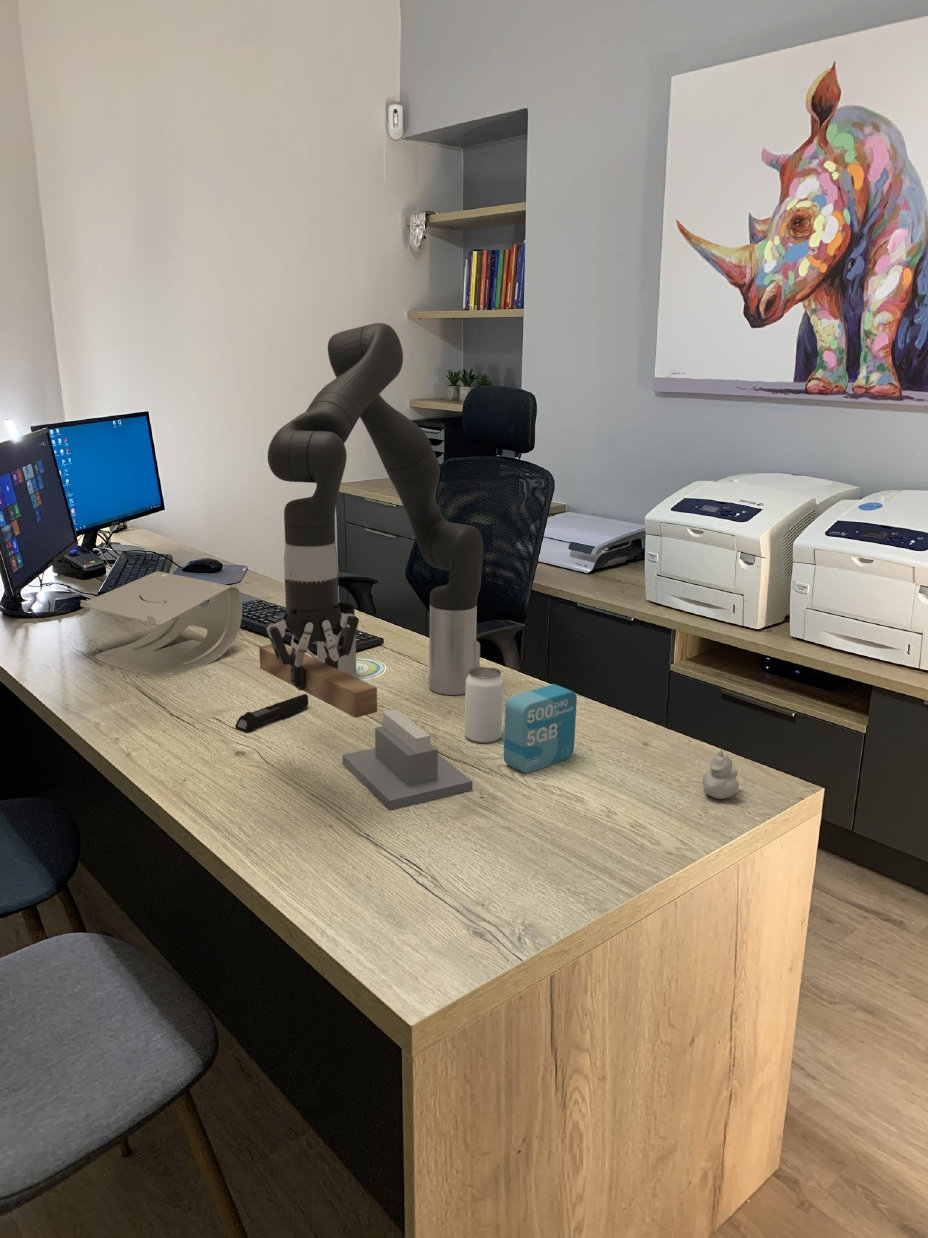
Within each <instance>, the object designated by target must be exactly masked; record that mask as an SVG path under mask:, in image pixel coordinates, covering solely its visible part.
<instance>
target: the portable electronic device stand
mask: <svg viewBox="0 0 928 1238" xmlns="http://www.w3.org/2000/svg"><path fill="white" fill-rule="evenodd" d="M205 602H208V605H207V606H203V605H202V604H203V603H205ZM80 607H82V608H86V609H90V610H94V611H98V612H102V613H106V614H110V615H114V616H117V617H118V616H119V617H124V618H127V619H132V620H136V621H139V622H143V623H148V624H151V625H157V626H156V628H154V629H153V630H152V631H151V632H149V633H148V634H146V635H145V636H143V637H141V638H140V639H138V640H136V641H134V642H132V643H128V644H126V645H121V646H118V647H115V648H111V649H109V650H105V651H102V652H100V653H97V654H96V655H95V659H96V660H97V661H98V662H101V663H104V664H107V665H109V666H112V667H115V668H118V669H121V670H125V671H129V672H133V673H138V674H141V675H147V676H153V677H159V678H164V677H165V678H167V677H175V676H178V675H181V674H184V673H187V672H190V671H194V670H195V669H200V668H202V667H205V666H206V665H208V664H211V663H213V662H214V661H216V660H218V659H219V658H220V657H222V656H223V655H224V654H225V653H226V652H228V650H230V648H231V647H232V646H233V644H234V643H235V641H236V639H237V637H238V634H239V632H240V629H241V625H242V618H243V602H242V595H241V591H240V590H239V588H238V587H237V586H233V585H229V584H223V583H219V582H218V583H217V582H215V581H214V582H213V581H209V580H203V579H199V578H194V577H193V578H192V577H189V576H183V575H178V574H173V573H168V572H163V571H154V572H152V573H149V574H146V575H145V576H143V577H140V578H138V579H135V580H133V581H131V582H128V583H126V584H124V585H121V586H118V587H117V588H114V589H112V590H110V591H108V592H105V593H102V594H100V595H98V596H96V597H93V598H91V599H88V600H85V599H81V600H80ZM190 626H191V627H192V626H193V627H198V628H201V629H206V630H207V633H206V635H205V637H204V639H203V640H202V641H199V640H195V639H194V640H193V639H191V640H187V641H182V642H178V643H176V644H173V645H169V644H170V643H172V642H173V641H175V640H176V639H177V638H178V637H179V636H181V635H182V633H183V632H184V631H185V630H186V629H187V628H188V627H190ZM167 645H169V646H167ZM166 646H167V647H166Z"/></svg>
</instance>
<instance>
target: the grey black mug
mask: <svg viewBox="0 0 928 1238" xmlns="http://www.w3.org/2000/svg"><path fill="white" fill-rule="evenodd" d="M338 607H339V610H340V611H341V613H343V614H347V613H351V614H353V615H354V616H356V615H355V606H354V605H353V604H351V603H348V602H346V603H345V602H338ZM340 623H341V622H340V621H339V623H338V625H337V626H336V628H335V629H334V631H333V636H334V639H335V642H336V646H337V644H338V640H339V636H340V633H341V629H342V627H341V625H340ZM356 634H357V632H356V633H355V637H354V640H353V644H352V647H351V651H350V653H349V654H348V655H344V656H342V657H340V658H339V660H338V670H340V671H342V672H345V673H347V674H349V675H351V676H353V677H355V678H358V679H359V674H358V671H357V647H356V646H357V643H356V642H357V641H356V639H357V635H356ZM316 652H317V653H316V655H315V654H314V653H313V652H312V651H311V650H310V649H309V648H307V651H306V653H308V655H309V656H310V657H312V658H314V659H316V660H319V661H321V662H323V663H325V658H327V656H326V654H325V651H324V648H323V645H322V643H321V642H319V641H316Z"/></svg>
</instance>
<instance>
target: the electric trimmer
mask: <svg viewBox="0 0 928 1238" xmlns="http://www.w3.org/2000/svg"><path fill="white" fill-rule="evenodd" d="M308 705H309V694H308V693H304V694H301V695H298V696H295V697H292V698H289V699H286V700H283V701H281V702H276V703H274V704H272V705H269V706H265V707H264V708H260V709H257V710H255V711H252V712H251V711H248V712H245V713H244V714H243V715H240V717H239V718H238V719H237V721H236V724H235V729H236V731H239V732H242V733H245V734H246V733H252V732H253V730H254V729H255V728H258V727H261V726H262V725H265V724H267V723H270V722H272V721H275V720H277V719H286V718H288V717H290V716H292V715H294V714H296V713H297V712H299V711H301V710H303V709H305V708H307V707H308Z"/></svg>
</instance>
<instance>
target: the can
mask: <svg viewBox="0 0 928 1238" xmlns="http://www.w3.org/2000/svg"><path fill="white" fill-rule="evenodd" d="M468 673H469V675H468V677H467V679H466V693H465V694H464V696H465V698H464V699H465V700H464V701H465V702H464V703H465V704H464V736H465V737H466V739H468V741H470V742H473V743H476V744H477V743H478V744H491V743H494V742H497V741H499V739H501V738H502V731H503V729H502V728H503V702H504V701H503V699H504V681H503V680H504V679H503V677H502V671H501V670H500V669H498V668H495V667H493V666H492V667H490V666H480V667H475V668H472V669H470V670H469V671H468Z"/></svg>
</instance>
